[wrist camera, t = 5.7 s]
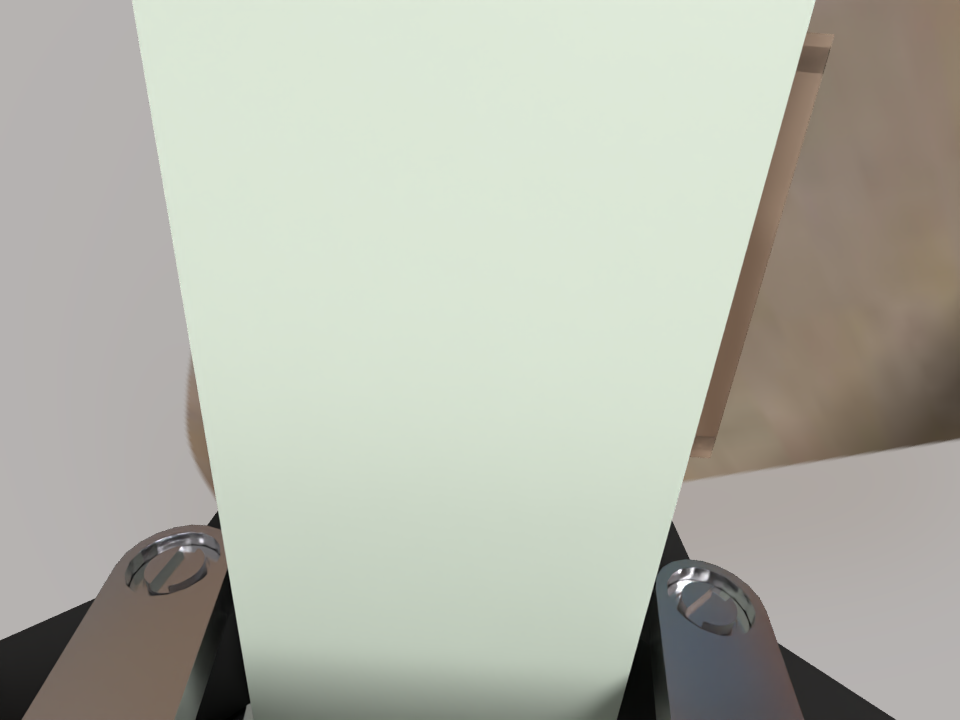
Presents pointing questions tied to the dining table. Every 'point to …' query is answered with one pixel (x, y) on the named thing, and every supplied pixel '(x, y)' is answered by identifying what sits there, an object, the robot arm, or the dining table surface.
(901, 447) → the dining table surface
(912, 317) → the dining table surface
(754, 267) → the box
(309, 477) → the pale green slab
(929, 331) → the dining table surface
